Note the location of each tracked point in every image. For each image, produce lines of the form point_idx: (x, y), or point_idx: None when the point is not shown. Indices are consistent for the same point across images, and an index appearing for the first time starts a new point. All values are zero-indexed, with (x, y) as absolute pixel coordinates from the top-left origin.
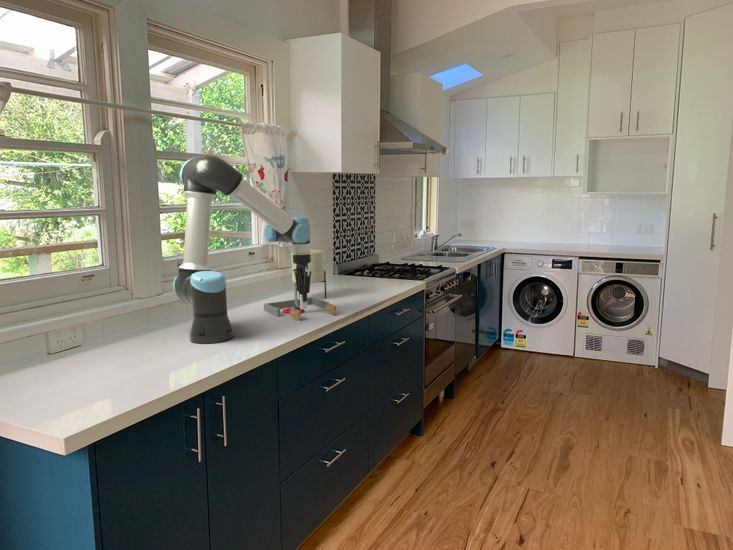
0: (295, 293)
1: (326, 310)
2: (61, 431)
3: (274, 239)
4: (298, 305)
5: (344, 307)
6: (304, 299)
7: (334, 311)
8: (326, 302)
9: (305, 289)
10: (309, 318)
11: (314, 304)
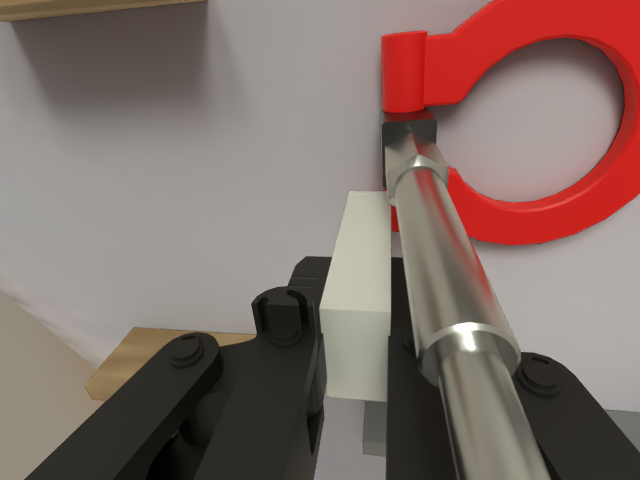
0: (411, 243)
1: None
2: None
3: None
4: None
5: (359, 473)
6: (291, 282)
7: (113, 351)
8: (378, 443)
9: (116, 418)
10: (96, 140)
11: (632, 416)
